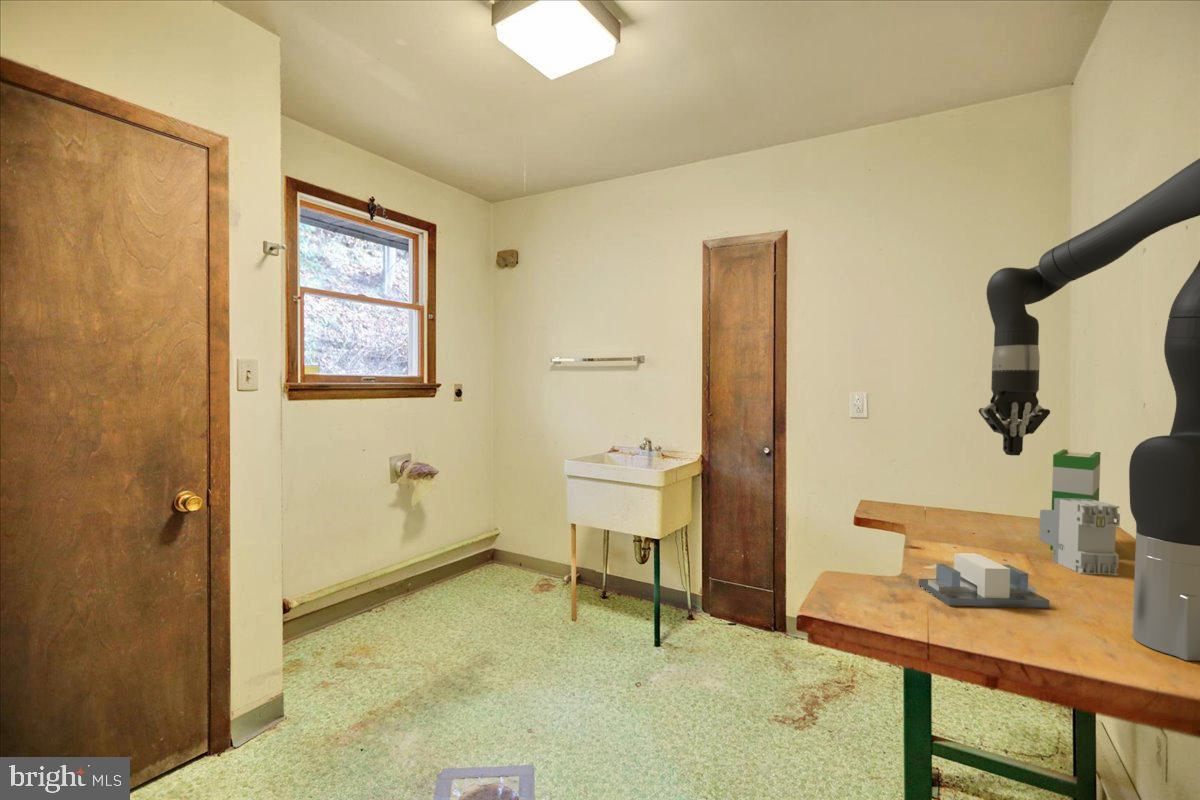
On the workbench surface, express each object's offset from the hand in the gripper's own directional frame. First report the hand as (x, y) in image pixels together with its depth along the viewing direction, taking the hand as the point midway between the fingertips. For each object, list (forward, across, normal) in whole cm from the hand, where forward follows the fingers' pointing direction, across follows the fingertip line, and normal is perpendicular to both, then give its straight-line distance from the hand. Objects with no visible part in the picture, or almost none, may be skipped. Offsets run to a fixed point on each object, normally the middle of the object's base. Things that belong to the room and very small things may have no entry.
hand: (1012, 454), depth 107 cm
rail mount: (+27, -9, -5) cm, 29 cm away
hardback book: (+27, +38, +30) cm, 56 cm away
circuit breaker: (+27, +26, +16) cm, 41 cm away
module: (+26, -9, -5) cm, 28 cm away
